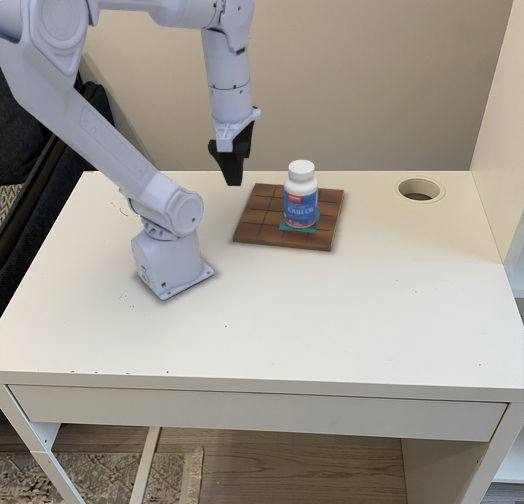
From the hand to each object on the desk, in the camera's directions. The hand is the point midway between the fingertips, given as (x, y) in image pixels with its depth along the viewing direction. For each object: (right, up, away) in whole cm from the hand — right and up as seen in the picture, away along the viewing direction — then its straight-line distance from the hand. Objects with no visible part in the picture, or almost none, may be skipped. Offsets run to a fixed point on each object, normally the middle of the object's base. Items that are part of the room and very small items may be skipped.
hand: (238, 170), depth 84 cm
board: (+8, -5, +9) cm, 13 cm away
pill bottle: (+10, -6, +7) cm, 13 cm away
